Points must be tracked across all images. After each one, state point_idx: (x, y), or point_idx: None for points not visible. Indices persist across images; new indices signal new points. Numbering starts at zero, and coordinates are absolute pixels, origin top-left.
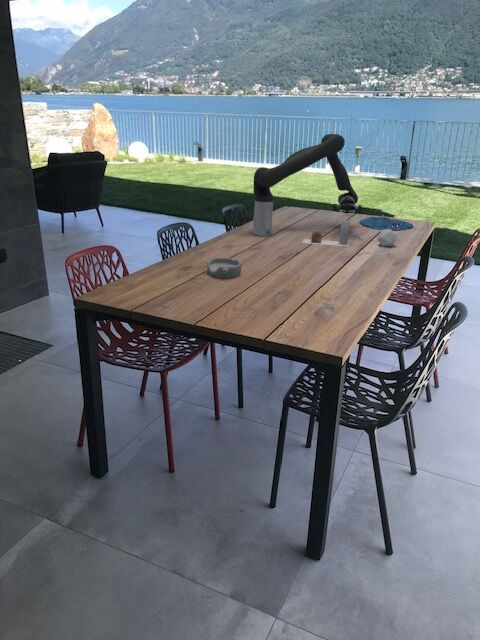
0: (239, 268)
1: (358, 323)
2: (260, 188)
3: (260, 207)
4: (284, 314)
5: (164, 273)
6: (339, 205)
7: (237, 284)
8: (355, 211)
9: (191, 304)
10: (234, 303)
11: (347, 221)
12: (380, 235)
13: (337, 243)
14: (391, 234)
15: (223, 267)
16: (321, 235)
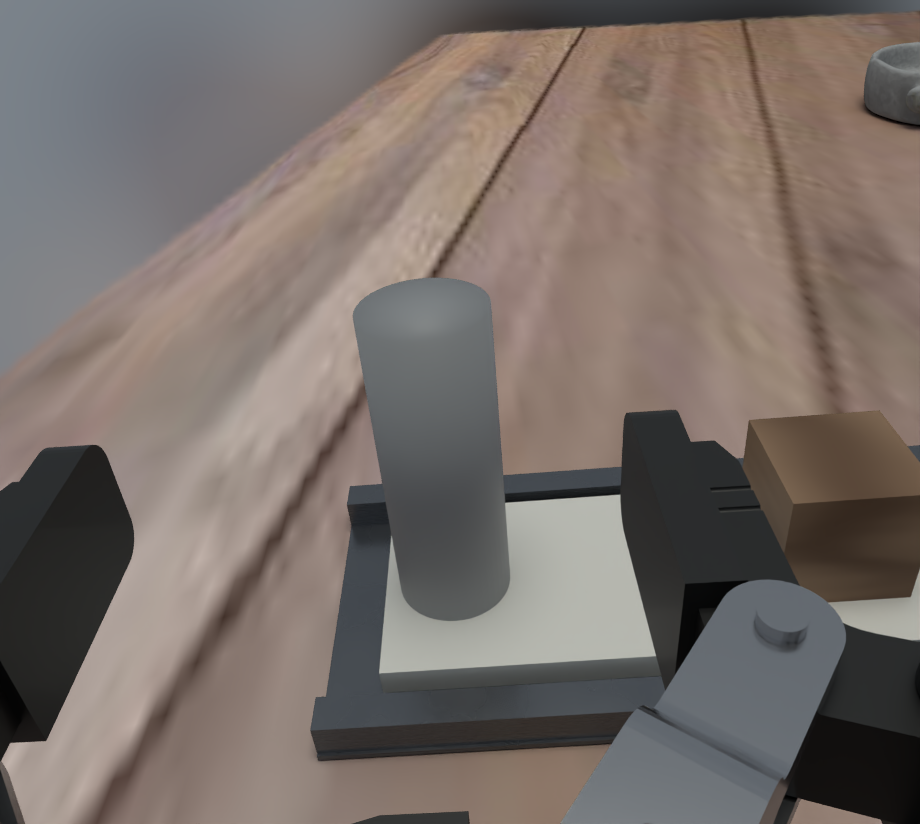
0: (867, 73)
1: (405, 71)
2: None
3: None
4: (581, 57)
5: None
6: (748, 758)
7: (809, 87)
8: (114, 498)
9: (824, 36)
10: (727, 53)
11: (395, 298)
12: None
13: (532, 571)
14: None
15: (906, 44)
16: (765, 487)
